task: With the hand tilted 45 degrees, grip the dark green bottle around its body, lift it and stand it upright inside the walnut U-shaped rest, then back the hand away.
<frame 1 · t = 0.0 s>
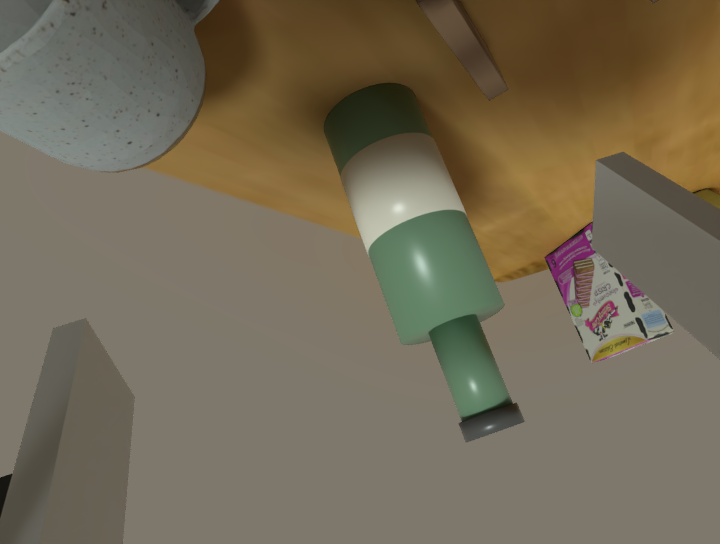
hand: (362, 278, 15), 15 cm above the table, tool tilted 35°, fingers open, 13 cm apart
candy bar box: (576, 237, 81), on the table
bottle: (369, 116, 36), on the table
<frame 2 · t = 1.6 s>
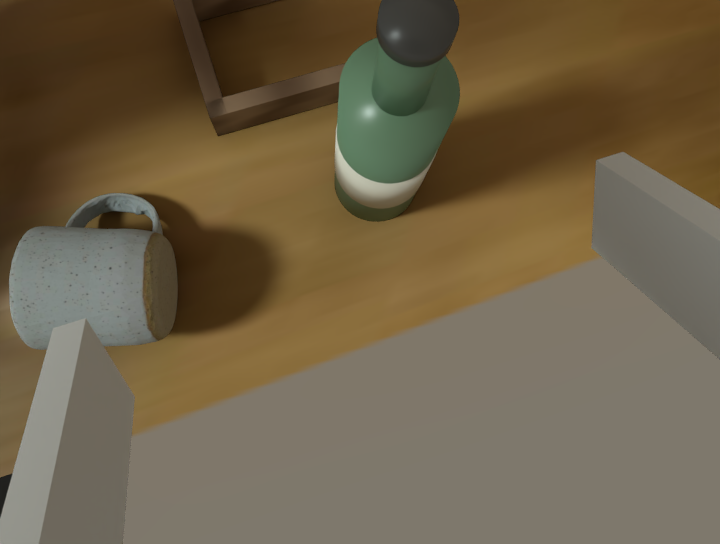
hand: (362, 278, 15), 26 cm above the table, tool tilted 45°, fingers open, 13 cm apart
bottle: (375, 181, 43), on the table
u rest: (265, 54, 44), on the table
ceramic mug: (120, 276, 41), on the table
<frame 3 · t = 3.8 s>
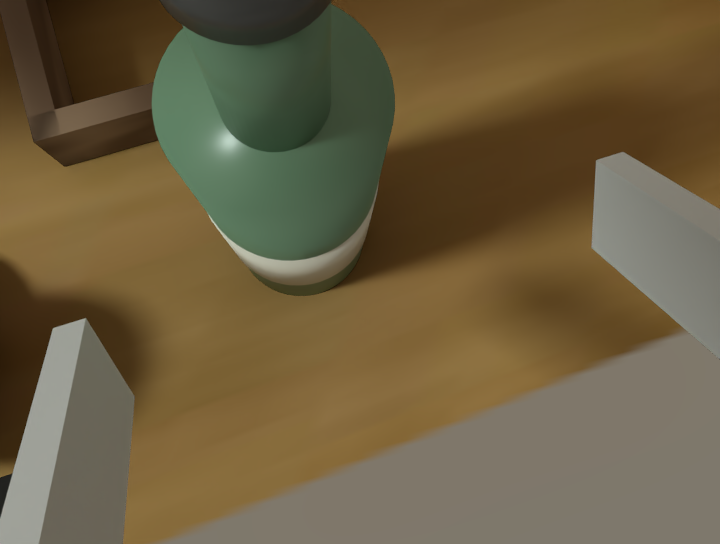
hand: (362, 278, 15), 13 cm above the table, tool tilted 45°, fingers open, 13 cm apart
bottle: (301, 234, 28), on the table
u rest: (142, 44, 30), on the table
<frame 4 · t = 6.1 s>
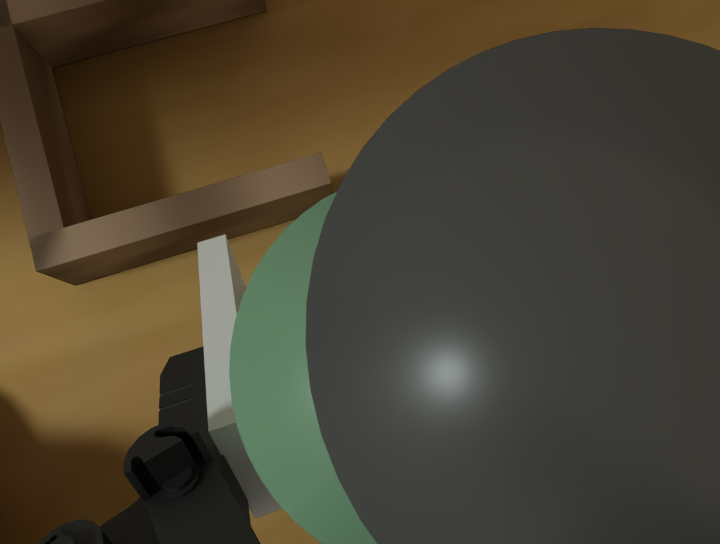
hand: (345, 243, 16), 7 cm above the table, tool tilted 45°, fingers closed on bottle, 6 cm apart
bottle: (371, 371, 23), on the table, touching gripper
u rest: (171, 127, 24), on the table
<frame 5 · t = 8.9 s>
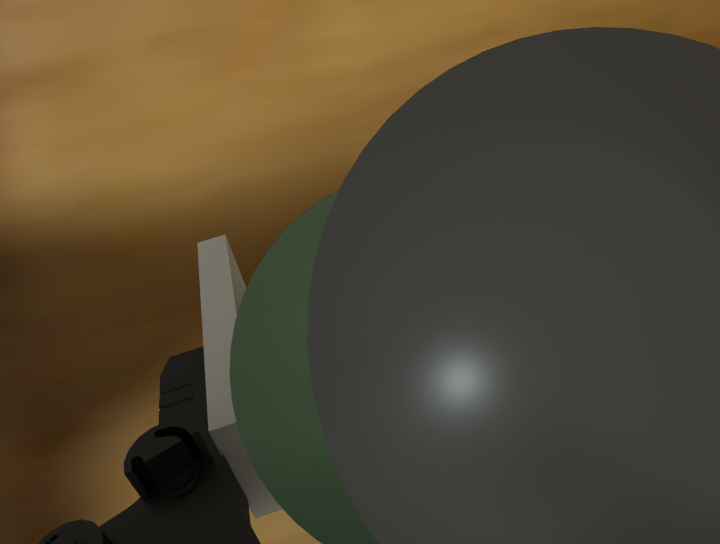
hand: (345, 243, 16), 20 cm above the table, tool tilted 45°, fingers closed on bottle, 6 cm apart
bottle: (371, 371, 22), point 13 cm above the table, touching gripper
when the fingers open (8 cm above the table, at t = 11.9 s): bottle drops 1 cm, on the table.
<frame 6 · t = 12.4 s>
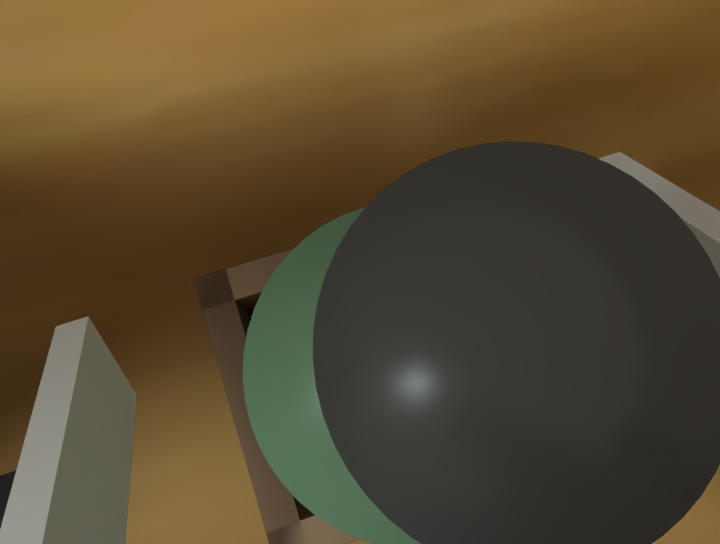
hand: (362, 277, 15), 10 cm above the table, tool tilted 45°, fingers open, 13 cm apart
bottle: (367, 373, 24), on the table
u rest: (368, 372, 24), on the table
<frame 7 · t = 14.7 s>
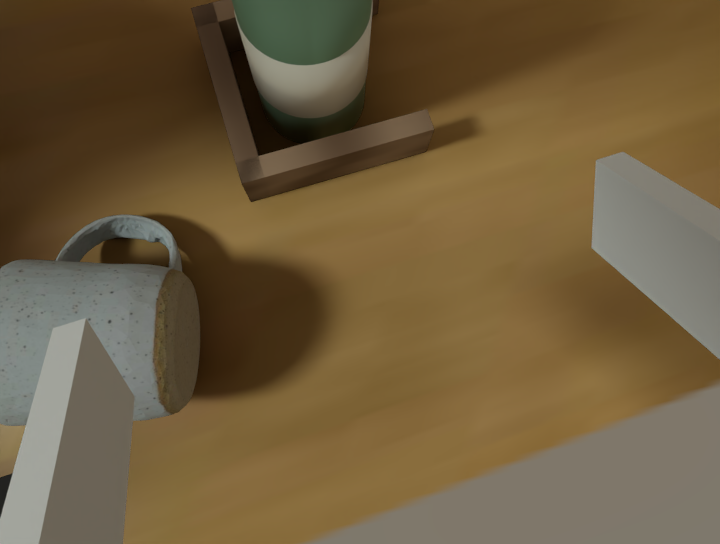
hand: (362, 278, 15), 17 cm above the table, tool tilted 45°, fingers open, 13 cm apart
bottle: (313, 96, 34), on the table
u rest: (313, 95, 34), on the table
ceramic mug: (126, 321, 32), on the table
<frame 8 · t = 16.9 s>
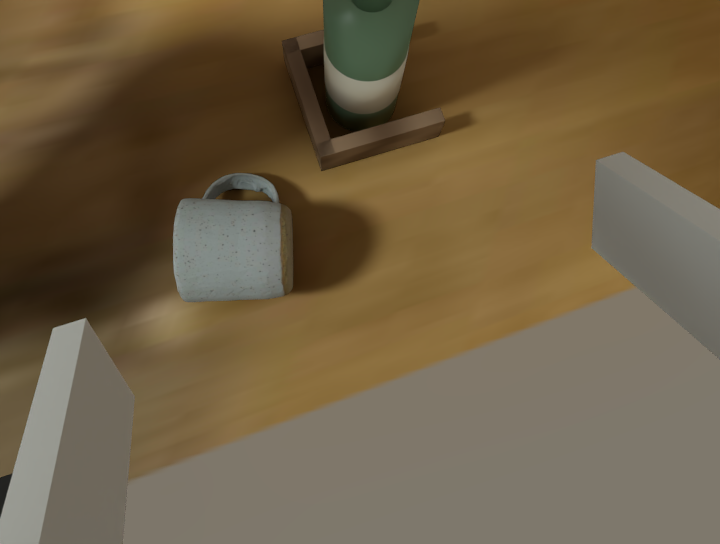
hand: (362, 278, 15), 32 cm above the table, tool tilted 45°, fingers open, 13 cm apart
bottle: (360, 99, 50), on the table
u rest: (361, 98, 50), on the table
ceramic mug: (241, 244, 47), on the table
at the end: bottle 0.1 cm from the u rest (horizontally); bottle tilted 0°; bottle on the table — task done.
